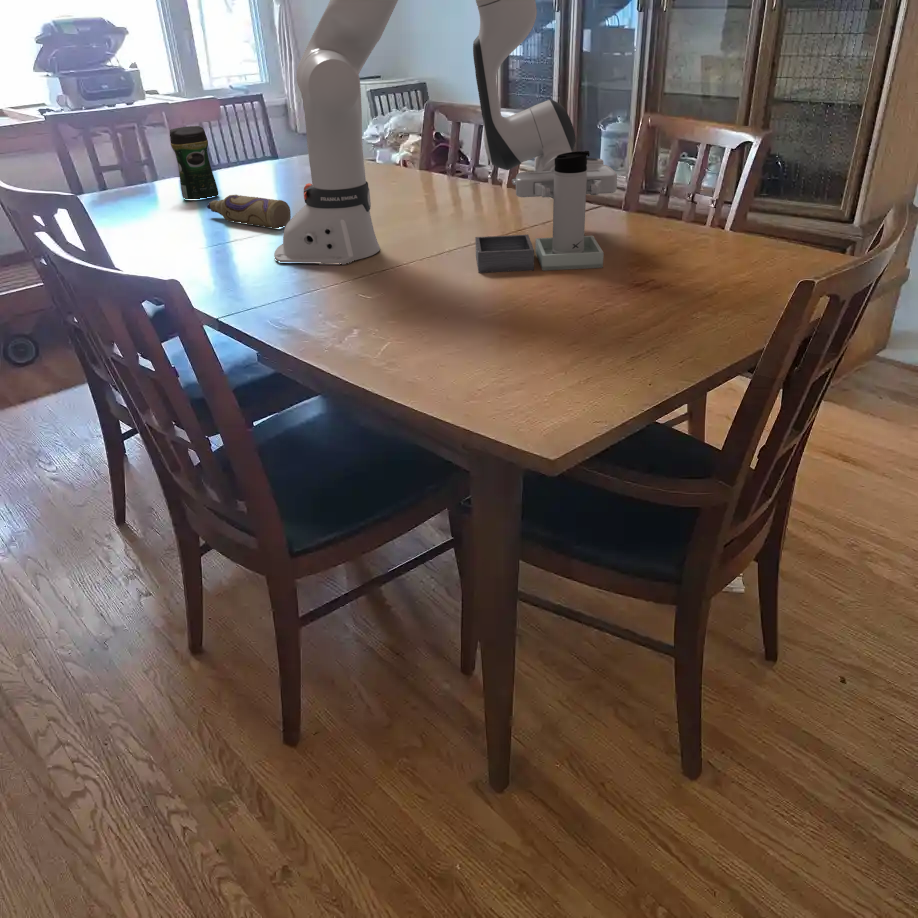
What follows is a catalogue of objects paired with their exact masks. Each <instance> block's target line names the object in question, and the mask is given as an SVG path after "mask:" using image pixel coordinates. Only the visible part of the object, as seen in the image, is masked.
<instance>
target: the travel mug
mask: <svg viewBox="0 0 918 918" xmlns="http://www.w3.org/2000/svg"><path fill="white" fill-rule="evenodd" d="M590 154H591V153H590V151H589V150H585V151H584V150H583V151H572V152H569V153H564V154H560V155H558V156H557V157H556V158H555V168H554V173H555V174H554V199H553V200H552V202H553V204H552V207H553V208H552V209H553V210H552V238H553V244H552V247H553V248H552V254H564V253H583V252H584V248H583V247H584V236H585V230H586V229H585V228H586V227H585V225H586V201H587V199H586V198H587V194H586V183H587V166H586V165H587V158H588V157H590Z"/></svg>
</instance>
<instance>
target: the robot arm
mask: <svg viewBox="0 0 918 918" xmlns="http://www.w3.org/2000/svg"><path fill="white" fill-rule="evenodd" d="M398 1H399V0H329V1H328V4H327V6H326V8H325V10H324V11H323V14H322V16H321V17H320V20H319V21H318V23H317V26H316V28H315V29H314V32H313V33H312V35H311V38H310V40H309V41H308V44H307V46H306V47H305V50H304V52H303V54H302V57H301V59H300V61H299V63H298V65H297V69H296V82H297V86H298V89H299V91H300V93H301V95H302V100H303V101H302V102H303V108H304V109H303V110H304V120H305V130H306V131H305V132H306V145H307V147H306V148H307V153H308V161H309V162H308V163H309V169H310V176H311V183H310V182H309V183H306V184H305V185H304V187H303V199H304V204H305V205H304V206H303V207H302V208H300V210H299V211H297V212H296V213H295V214H294V216H293V217H291V218H290V221H289V222H288V223H287V224H286V226H285V228H283V236H282V244H280V245H279V246H278V247H277V248H275V251H274V255H273V256H274V257H275V258H274V260H275V259H276V260H277V261H280V262H321V263H339V264H338V265H340V263H341V264H342V265H347V264H346V263H348V264H350V263H353V262H354V260H355V261H357V260H362V259H365V258H368V257H371V256H373V255H375V254H377V253H378V252H379V251H380V250H381V247H380V244H379V242H378V240H377V237H376V232H375V230H374V224H373V221H372V216H371V207H372V206H371V204H372V203H371V193H370V186H369V182H368V181H367V179H366V169H365V168H366V167H365V160H364V159H365V158H364V149H363V148H364V147H363V112H362V109H363V108H362V92H361V91H362V90H361V79H360V75H359V74H360V73H361V71H362V69H363V68H364V66H365V63H366V62H367V60H369V57H370V55H371V53H372V52H373V50H374V48H375V47H376V46H377V44H378V43H379V41H380V40H381V38H382V36H383V34H384V31H385V30H386V27H387V26H388V23H389V20H390V18H391V16H392V14H393V13H394V11H395V10H394V9H395V8H396V5H397V3H398ZM475 4H476V6H477V10H478V14H479V30H478V31H479V32H478V35H477V37H476V38H475V39H474V40H473V44H472V54H473V64H474V71H475V80H476V85H477V91H478V99H479V106H480V112H481V115H482V121H483V122H482V123H483V143H484V144H483V145H484V150H485V153H486V156H487V158H488V160H489V162H490V163H491V165H492V166H494V167H496V168H498V169H501V170H505V171H510V170H511V169H513V168H516V167H517V166H520V165H521V164H523V163H524V162H527V161H530V160H532V159H534V165H533V167H534V168H533V169H534V171H522V172H518V173H517V174H516V176H515V177H513V178H512V179H511V183H512V185H513V186H515V195H516V197H518V198H537V197H542V198H551V199H553V200H554V174H555V173H554V168H555V158H556V157H557V156H558V155H560V154H564V153H569V152H574V149H575V146H576V141H577V140H576V134H575V132H576V131H575V129H574V126H573V123H572V120H571V118H570V115H569V114H568V112H567V110H566V109H565V107H564V106H563V105H562V104H560V103H559V102H557V101H556V100H553V99H548V100H545V101H542V102H540V103H537V104H535V105H532V106H530V107H529V108H526V109H524V110H521V111H518V112H517V113H514V114H511V115H509V116H506V117H505V116H502V113H501V107H500V98H499V91H498V86H497V77H498V72H499V69H500V67H501V65H502V64H503V63H504V61H505V60H506V59H507V57H509V56H510V55H511V54H512V53H513V52H514V51H515V50H516V49H518V47H520V45H521V44H522V43H524V41H525V40H526V38H527V37H528V36H529V34H530V33H531V31H532V29H533V27H534V25H535V23H536V18H537V14H538V10H537V4H536V0H475ZM586 166H587V183H586V195H590V196H599V194H613V193H615V192H617V187H618V175H617V172H616V171H615V170H614V169H613V168H612V167H610V166H609V165H607V164H605V162H604V160H603V159H602V158H596V157H587V165H586ZM352 261H353V262H352ZM349 262H350V263H349Z"/></svg>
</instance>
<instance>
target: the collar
mask: <svg viewBox="0 0 918 918" xmlns="http://www.w3.org/2000/svg"><path fill="white" fill-rule="evenodd" d="M474 238H475V239H474V240H475V241H474V243H475V258H476V265H477V271H478V274H483V273H484V274H485V273H486V274H487V273H503V272H505V273H506V272H507V273H508V272H525V271H526V272H527V271H528V272H529V271H535V248H534V247H533V243H532V241H531V238H530V236H529V234H515V235H513V234H512V235H493V236H492V235H491V236H476V237H474Z"/></svg>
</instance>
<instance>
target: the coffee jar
mask: <svg viewBox="0 0 918 918" xmlns="http://www.w3.org/2000/svg"><path fill="white" fill-rule="evenodd" d="M169 137H170V138H169V139H170V146H171V148H172V150H173V152H174V153H175V154H174V155H175V157H176V161H177V167H178V173H179V174H178V175H179V182H180V191H181V196H182V198H183V199H184V198H185V199H200V198H207V197H212V196H216V197H218V196H219V194H220V193H219V190H218V186H217V182H216V178H215V175H214V173H213V170H212V166H211V163H210V159H209V153H208V146H209V140H208V137H207V134H206V131H205V130H204V127H202V126H200V125H190V126H180V127H177V128H171V129H169ZM217 195H218V196H217ZM185 199H184V200H185Z"/></svg>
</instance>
